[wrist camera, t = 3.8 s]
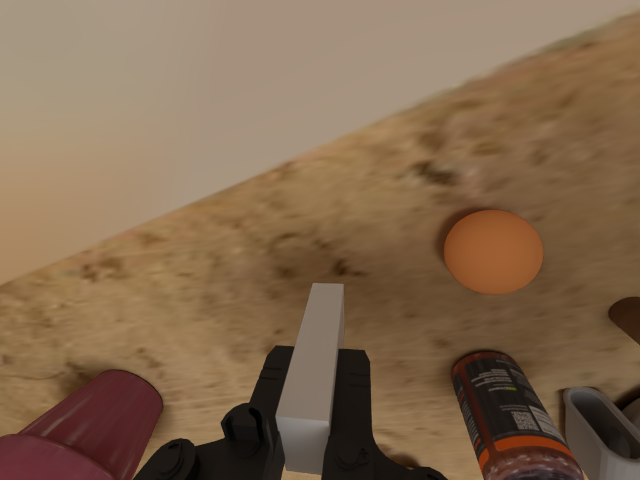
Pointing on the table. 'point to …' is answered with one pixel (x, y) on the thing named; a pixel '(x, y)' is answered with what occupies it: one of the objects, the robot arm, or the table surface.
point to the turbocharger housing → (602, 435)
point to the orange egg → (493, 252)
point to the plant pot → (86, 433)
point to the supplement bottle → (509, 422)
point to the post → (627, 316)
